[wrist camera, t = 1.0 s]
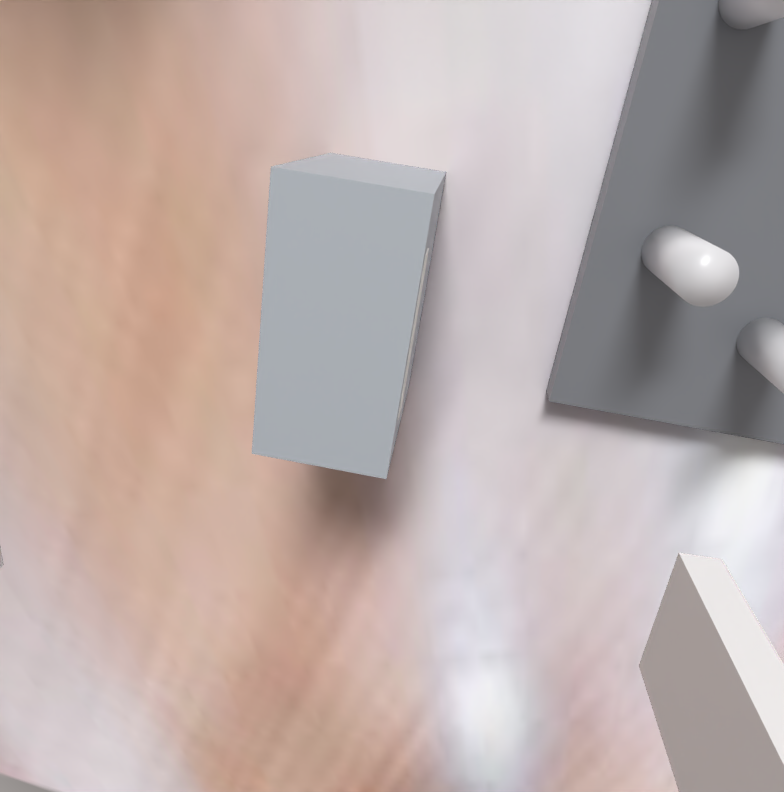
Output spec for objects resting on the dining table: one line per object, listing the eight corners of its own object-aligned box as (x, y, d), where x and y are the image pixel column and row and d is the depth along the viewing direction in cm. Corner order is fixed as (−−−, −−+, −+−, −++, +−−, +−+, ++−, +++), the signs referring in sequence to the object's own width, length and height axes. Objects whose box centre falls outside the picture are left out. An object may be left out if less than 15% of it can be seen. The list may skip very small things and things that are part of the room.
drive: (308, 366, 32) (250, 453, 23) (330, 152, 27) (269, 166, 19) (410, 385, 31) (387, 479, 23) (447, 172, 27) (436, 194, 19)
